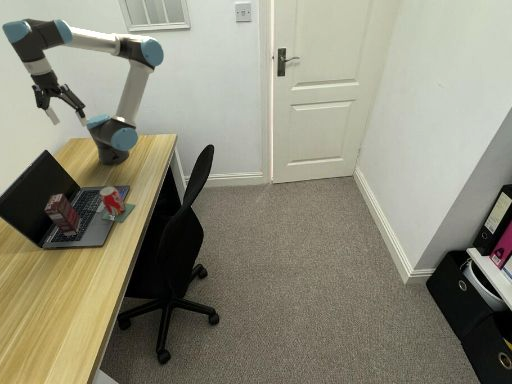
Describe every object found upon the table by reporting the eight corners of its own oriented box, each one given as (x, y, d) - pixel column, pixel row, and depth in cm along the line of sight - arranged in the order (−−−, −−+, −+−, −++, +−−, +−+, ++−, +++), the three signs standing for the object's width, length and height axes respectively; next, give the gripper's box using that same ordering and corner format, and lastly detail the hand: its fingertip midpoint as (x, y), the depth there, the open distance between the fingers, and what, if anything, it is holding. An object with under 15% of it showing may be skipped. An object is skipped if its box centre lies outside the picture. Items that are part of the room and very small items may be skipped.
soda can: (121, 218, 117) (109, 197, 109) (106, 216, 118) (94, 195, 110) (130, 206, 122) (119, 185, 114) (115, 204, 123) (104, 183, 115)
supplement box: (71, 222, 117) (50, 195, 107) (83, 220, 118) (63, 192, 107) (65, 238, 111) (42, 210, 100) (78, 235, 112) (57, 208, 101)
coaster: (115, 202, 125) (115, 201, 125) (135, 205, 123) (135, 204, 123) (102, 219, 118) (101, 218, 117) (122, 222, 116) (122, 221, 115)
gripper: (4, 75, 100) (39, 127, 115) (63, 76, 96) (92, 130, 110) (20, 67, 106) (52, 118, 120) (77, 67, 101) (103, 120, 116)
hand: (71, 124), depth 115 cm, fingers open, 13 cm apart
